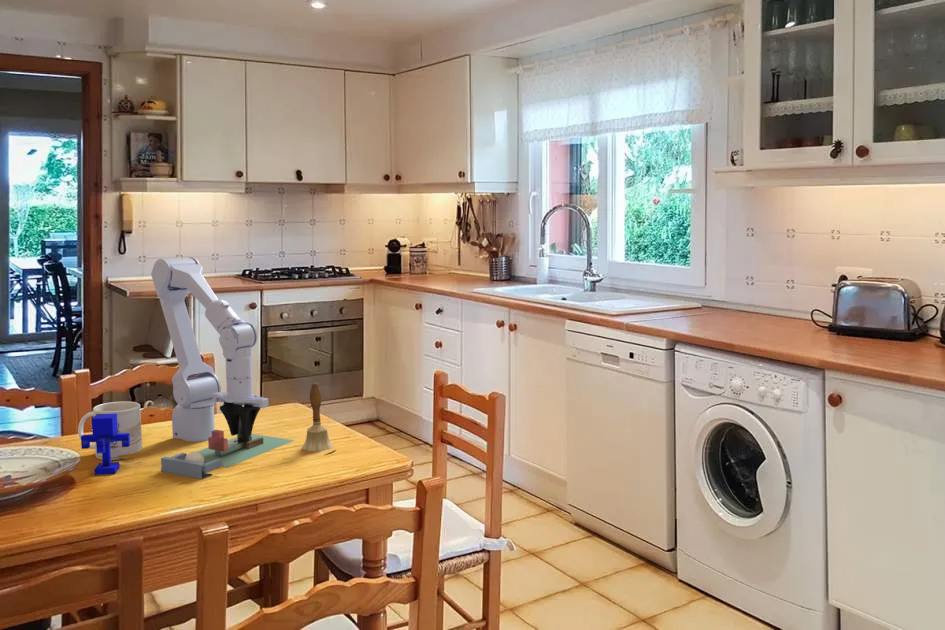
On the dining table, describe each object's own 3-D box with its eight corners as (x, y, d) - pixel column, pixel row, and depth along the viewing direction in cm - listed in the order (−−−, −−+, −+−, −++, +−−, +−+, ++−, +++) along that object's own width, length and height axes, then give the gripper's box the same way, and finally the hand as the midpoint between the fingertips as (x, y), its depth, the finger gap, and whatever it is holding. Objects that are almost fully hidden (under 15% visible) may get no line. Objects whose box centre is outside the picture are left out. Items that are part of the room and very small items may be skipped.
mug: (110, 463, 183) (108, 414, 181) (77, 455, 189) (74, 407, 188) (151, 452, 192) (149, 404, 190) (118, 444, 198) (116, 398, 196)
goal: (161, 471, 177) (161, 458, 177) (182, 463, 183) (182, 450, 182) (201, 479, 173) (201, 465, 172) (222, 470, 178) (221, 457, 178)
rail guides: (234, 446, 193) (233, 440, 192) (248, 441, 197) (248, 435, 197) (249, 449, 191) (248, 443, 191) (263, 443, 195) (263, 437, 195)
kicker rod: (208, 454, 185) (207, 423, 184) (240, 442, 195) (239, 412, 194) (223, 457, 183) (222, 425, 182) (255, 445, 193) (255, 414, 192)
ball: (184, 448, 178) (196, 453, 181) (177, 466, 177) (190, 471, 180) (198, 450, 176) (210, 455, 180) (192, 469, 175) (204, 474, 178)
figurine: (133, 470, 178) (131, 415, 177) (100, 479, 172) (97, 422, 171) (113, 463, 183) (110, 409, 181) (80, 472, 177) (77, 416, 175)
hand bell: (328, 457, 188) (326, 387, 186) (293, 455, 190) (291, 386, 188) (340, 446, 196) (339, 379, 194) (307, 445, 198) (305, 378, 196)
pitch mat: (177, 462, 184) (177, 458, 183) (248, 437, 204) (247, 433, 204) (227, 471, 178) (227, 467, 178) (294, 444, 198) (294, 440, 198)
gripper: (202, 377, 189) (204, 435, 191) (253, 383, 183) (254, 443, 185) (223, 371, 195) (225, 428, 197) (273, 377, 189) (275, 436, 191)
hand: (241, 435), depth 191 cm, fingers closed on kicker rod, 3 cm apart
